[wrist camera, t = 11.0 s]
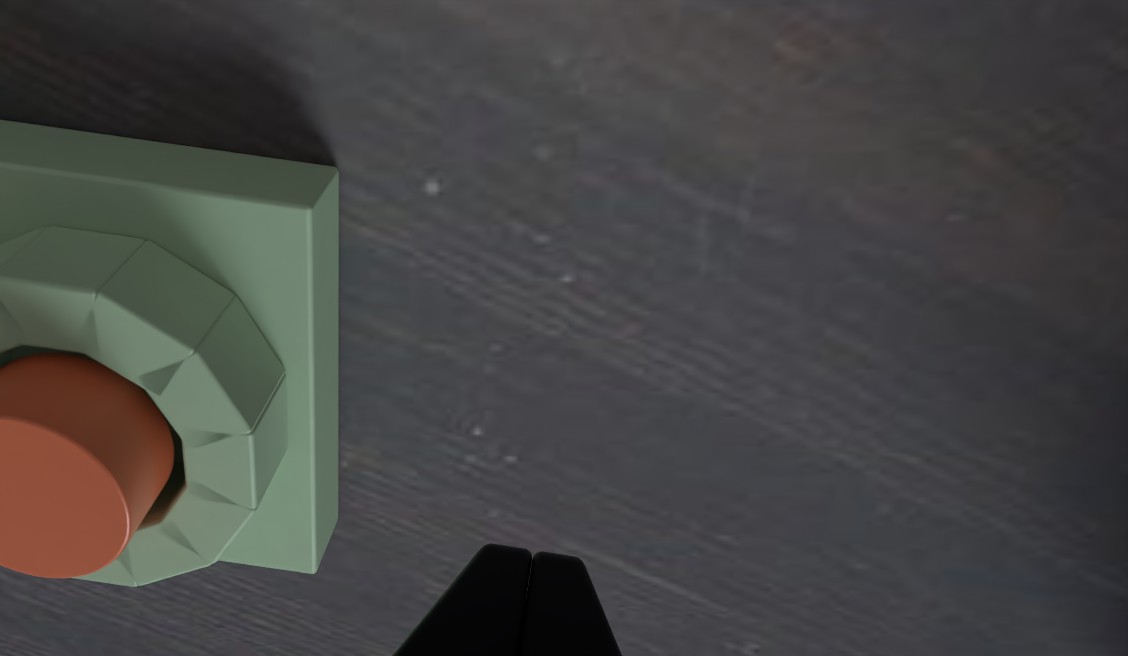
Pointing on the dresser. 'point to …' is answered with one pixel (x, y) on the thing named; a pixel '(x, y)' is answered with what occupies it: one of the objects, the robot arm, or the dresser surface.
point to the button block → (189, 327)
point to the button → (75, 463)
